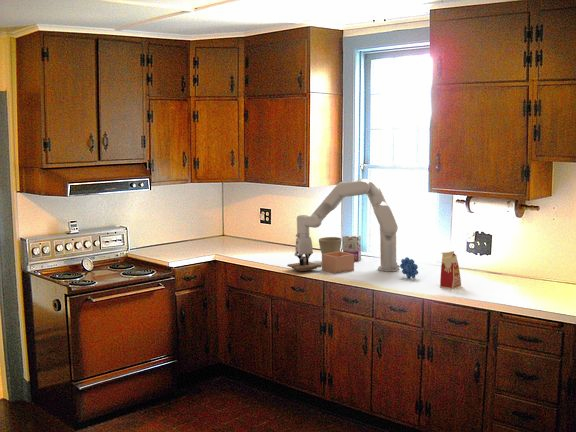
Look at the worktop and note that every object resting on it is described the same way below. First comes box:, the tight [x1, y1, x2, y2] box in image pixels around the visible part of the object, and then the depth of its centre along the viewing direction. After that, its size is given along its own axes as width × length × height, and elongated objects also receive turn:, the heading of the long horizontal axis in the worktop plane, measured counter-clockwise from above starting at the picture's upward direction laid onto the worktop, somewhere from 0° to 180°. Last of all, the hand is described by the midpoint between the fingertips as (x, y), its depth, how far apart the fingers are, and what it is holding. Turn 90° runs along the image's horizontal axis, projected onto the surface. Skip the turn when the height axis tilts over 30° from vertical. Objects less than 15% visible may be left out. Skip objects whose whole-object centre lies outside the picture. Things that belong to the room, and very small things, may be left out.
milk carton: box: [439, 250, 462, 291], centre depth 350 cm, size 9×9×20 cm
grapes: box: [399, 256, 419, 279], centre depth 373 cm, size 12×7×12 cm, turn 49°
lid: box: [286, 255, 322, 272], centre depth 401 cm, size 15×15×7 cm
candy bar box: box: [342, 234, 362, 262], centre depth 428 cm, size 11×5×16 cm, turn 62°
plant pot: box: [318, 236, 343, 255], centre depth 421 cm, size 15×15×16 cm
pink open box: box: [321, 250, 355, 275], centre depth 400 cm, size 14×14×10 cm
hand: (304, 264), depth 401 cm, fingers closed on lid, 3 cm apart
